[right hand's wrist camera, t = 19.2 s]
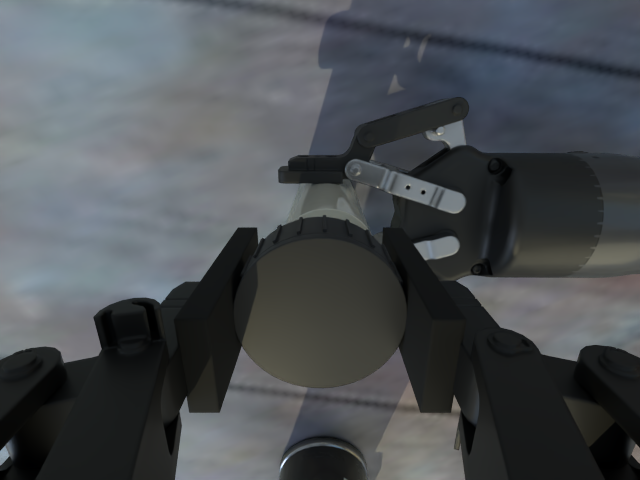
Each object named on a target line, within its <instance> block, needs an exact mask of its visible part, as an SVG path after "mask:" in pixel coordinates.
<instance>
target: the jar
mask: <svg viewBox="0 0 640 480" xmlns="http://www.w3.org/2000/svg"><path fill="white" fill-rule="evenodd" d="M323 215H326V217H331V218H338V219H341V220H346V219H348V220H349V221H350V222H351V223H353V224H355V225H357V226H359V227H361V228H362V229H364V230H366V229H368V230H369V231H370V229H369V226H368V224H367V221H366V219H365V216H364V213H363V211H362V208H361V206H360V203H359V201H358V198H357V196H356V193H355V191H354V188H353V185H352V183H351V181H350V179H343V184H331V183H322V184H308V183H300V186H299V188H298V191H297V194H296V197H295V199H294V202H293V205H292V208H291V210H290V213H289V216H288V219H287V221H286V224H287V223H290V222H293V221H295V220H299V217H303V218H309V217H323ZM370 234H371V231H370ZM371 235H372V234H371Z"/></svg>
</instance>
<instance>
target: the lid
mask: <svg viewBox="0 0 640 480" xmlns="http://www.w3.org/2000/svg"><path fill="white" fill-rule="evenodd" d="M240 277H242V279H241V281H240V283H239V286H238V288H237V290H236V294H235V298H234V302H233V314H234V324H235V331H236V334H237V336H238V339H239V341H240V343H241V345H242V347H243V349H244V350H245V351H246V353H247V354H248V356H249V357H250V358H251V359H252V360H253V361H254V362H255V363H256V364H257V365H258V366H259V367H261V368H262V369H263V370H264V371H266V372H267V373H269V374H271V375H272V376H274V377H276V378H278V379H280V380H282V381H285V382H288V383H291V384H294V385H298V386H303V387H310V388H330V387H337V386H343V385H347V384H350V383H353V382H356V381H358V380H361V379H363V378H365V377H367V376H368V375H370V374H372V373H373V372H375V371H376V370H378V369H379V368H380V367H381V366H383V365H384V364H385V363H386V362H387V361H388V360H389V359H390V357H391V356H392V355H393V354H394V352H395V351H396V349H397V348H398V346H399V344H400V342H401V340H402V338H403V335H404V332H405V328H406V318H407V301H406V296H405V293H404V290H403V287H402V284H404V283H403V280H402V278H401V276H400V274H399V272H398V270H397V268H396V266H395V264H394V262H392V260H391V258H390V256H389V254H388V252H387V249H386V247H385V245H384V244H382V245H381V244H380V243H379V242H378V241H377V240H376V239H375V238H374V237H373V236H372V235H371V234H370V231H369V230H368V229H366V230H364V229H362V228H361V227H359V226H357V225H355V224H353V223H351V222H350V221H349V220H348V219H346V220H341V219H338V218H331V217H326V215H323V217H309V218H303V217H299V220H295V221H293V222H290V223H287V224H285V225H283V226H281V225H279V226H278V227H277V229H276V230H275V231H274V232H272V233H271V234H270V235H268V236H267V237H266V238H265V239H264V238H262V239H261V240H260V242H259V245H258V247H257V249H256V251H255V252H254V254H253V256H251V255H250V256H249V258H248V260H247V262H246V264H245V266H244V268H243V270H242V272H241V274H240Z"/></svg>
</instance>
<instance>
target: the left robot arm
mask: <svg viewBox="0 0 640 480" xmlns="http://www.w3.org/2000/svg"><path fill="white" fill-rule="evenodd" d="M468 111H469V105H468V102H467V101H466V100H465V99H464V98H461V97H456V98H449V99H442V100H438V101H435V102H432V103H429V104H425V105H422V106H419V107H416V108H413V109H409V110H406V111H403V112H400V113H397V114H393V115H390V116H387V117H384V118H381V119H377V120H374V121H371V122H368V123H365V124H361V125H359V126H358V127H357V128H356V130H355V133H354V137H353V140H352V142H351V145H350V147H349V149H348V150H347V152H345V153H344V154H342V155H298V156H295V157H293V158H291V159H290V160H289V161H288V166H282V167H280V168H279V170H278V178H279V183H308V184H322V183H331V184H343V179H350V180H353V181H356V182H359V183H362V184H366V185H369V186H372V187H375V188H378V189H381V190H383V191H385V192H387V193H390V194H393V203H394V208H395V213H394V216H393V218H392V221H391V228H403V230H404V231H405V233H406V234H407V235H408V237H409V238H410V240H411V241H412V242H413V244H414V245H415V247H416V248H417V250H418V251H419V252H420V254H421V255H422V257H423V258H424V260H425V261H426V262H427V264H428V265H429V267H430V268H431V269H432V271H433V272H434V274H435V275H436V277H437V278H438V279H439V281H456V280H458V279H460V278H462V277H465V276H469V275H478V276H485V277H547V278H561V277H562V278H604V277H615V276H623V275H630V274H640V157H633V156H626V155H619V154H605V153H587V152H582V151H576V152H568V153H482V152H480V151H478V150H477V149H475V148H474V147H472V146H468V145H466V139H465V132H464V126H463V119H464V118H465V117H466V116H467V114H468ZM419 133H422V135H423V136H424V138H426V139H427V140H431V141H441V142H442V143H443V144H444V146H445V148H444V149H443V150H441V151H440V152H438V153H437V154H435V155H434V156H432V157H431V158H429V159H428V160H426V161H425V162H423V163H422V164H420V165H419V166H417V167H416V168H415V169H413V170H412V171H407V170H403V169H400V168H397V167H394V166H391V165H388V164H384V163H380V162H376V161H373V160H370V159H371V156H372V154H373V151H374V149H375V147H376V146H379V145H382V144H386V143H389V142H392V141H395V140H399V139H402V138H405V137H409V136H412V135H415V134H419ZM373 237H374V238H375V239H376V240H377V241H378V242H379V243H380V244H381V245H382V238H383V232H380V233H377V234H375V235H373ZM279 480H367V467H366V462H365V460H364V457H363V456H362V454H361V453H360V452H359V451H358V450H357V449H356V448H355V447H353V446H352V445H350V444H349V443H346V442H344V441H341V440H338V439H334V438H325V437H321V438H312V439H307V440H304V441H301V442H299V443H297V444H295V445H294V446H292V447H291V448H290V449H289V450H288V451H287V452H286V453H285V454H284V456H283V458H282V460H281V463H280V471H279Z"/></svg>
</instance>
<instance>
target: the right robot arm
mask: <svg viewBox="0 0 640 480" xmlns="http://www.w3.org/2000/svg"><path fill="white" fill-rule="evenodd" d="M382 244H384V245H385V247H386V249H387V252H388V254H389V256H390V258H391V260H392V262H394V264H395V266H396V268H397V270H398V272H399V274H400V276H401V278H402V280H403V283H404V284H402V287H403V290H404V293H405V296H406V301H407V318H406V328H405V332H404V335H403V338H402V340H401V342H400V344H399V349H400V352H401V355H402V358H403V361H404V364H405V367H406V370H407V373H408V376H409V379H410V382H411V385H412V388H413V391H414V394H415V397H416V400H417V403H418V406H419V409H420V412H421V413H451V409H452V403H453V397H454V395H455V397H456V400H457V402H458V404H459V406H460V408H461V412H460V417H459V423H458V428H457V434H456V439H455V446H454V449H456V450H459V447H460V442H461V450H462V457H463V465H464V473H465V480H640V464H639V463H638V462H637V461H636V459H635V458H634V457H633V456H632V455H631V454H632V451H633V449H634V447H635V444H637V445H638V446H639V447H640V358H639V357H637V356H634V355H632V354H630V353H628V352H626V351H624V350H621V349H616V348H614V347H610V346H600V345H592V346H586V347H584V348H583V349H582V350H580V353H579V357H578V360H577V362H576V361H571V360H566V359H561V358H556V357H551V356H546V355H542V354H541V353H540V351H539V349H538V348H537V347H536V345H535V344H534V343H533V342H532V341H531V340H529V339H528V338H526V337H525V336H523V335H521V334H519V333H517V332H514V331H512V330H508V329H504V328H500V327H499V325H498V324H497V323H496V322H495V321H494V319H493V318H492V317H491V316H490V315H489V313H488V312H487V311H486V310H485V309H484V307H481V304H480V303H479V301H478V300H477V299H475V297H474V295H473V294H472V293H471V292H470V291H469V289H468V288H466V287H465V286H463V285H461V284H460V283H458V282H456V281H439V279H438V278H437V277H436V275H435V274H434V272H433V271H432V269H431V268H430V267H429V265H428V264H427V262H426V261H425V260H424V258H423V257H422V255H421V254H420V252H419V251H418V250H417V248H416V247H415V245H414V244H413V242H412V241H411V240H410V238H409V237H408V235H407V234H406V233H405V231H404V230H403V228H383V238H382ZM257 247H258V235H257V228H238V229H237V230H236V231H235V233H234V234H233V236H232V237H231V239H230V240H229V241H228V243H227V244H226V246H225V247H224V248H223V250H222V251H221V253H220V254H219V256H218V257H217V258H216V260H215V261H214V263H213V264H212V266H211V267H210V268H209V270H208V271H207V273H206V274H205V275H204V277H203V278H202V280H201V281H200V282H184V283H183V284H181V285H179V286H178V287H176V288H174V289H173V290H172V291H171V292H170V293H169V295H168V296H167V297H166V298H165V300H164V301H163V302H162V303H161V304H160V303H159V302H157V301H156V300H155V299H150V298H132V299H127V300H122V301H119V302H116V303H114V304H111V305H109V306H107V307H105V308H104V309H102V310H100V311H99V312H98V313H97V314H96V315H95V316H94V321H95V325H96V329H97V332H98V336H99V340H100V344H101V348H102V350H101V352H100V354H99V356H96V357H92V358H87V359H82V360H77V361H72V362H67V363H64V362H63V359H62V356H61V352H60V351H58V350H57V349H56V348H52V347H37V348H29V349H25V350H22V351H19V352H16V353H14V354H13V355H10V356H8V357H6V358H4V359H2V360H0V450H1V449H2V448H3V447H4V446H6V448H7V451H8V453H9V455H10V456H9V457H8V459H7V460H6V461H5V462H4V463H3V464H2V465H1V466H0V480H175V474H176V466H177V458H178V451H179V443H180V435H181V428H182V424H181V417H180V412H179V410H180V408H181V406H182V404H183V402H184V400H185V398H186V396H187V401H188V407H189V413H220V410H221V407H222V404H223V401H224V398H225V395H226V392H227V389H228V386H229V383H230V380H231V377H232V374H233V371H234V368H235V365H236V362H237V359H238V356H239V353H240V350H241V347H242V345H241V343H240V341H239V339H238V336H237V334H236V331H235V324H234V314H233V302H234V298H235V294H236V290H237V288H238V286H239V283H240V281H241V279H242V277H240V274H241V272H242V270H243V268H244V266H245V264H246V262H247V260H248V258H249V256H250V255H251V256H253V254H254V252H255V251H256V249H257Z"/></svg>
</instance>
